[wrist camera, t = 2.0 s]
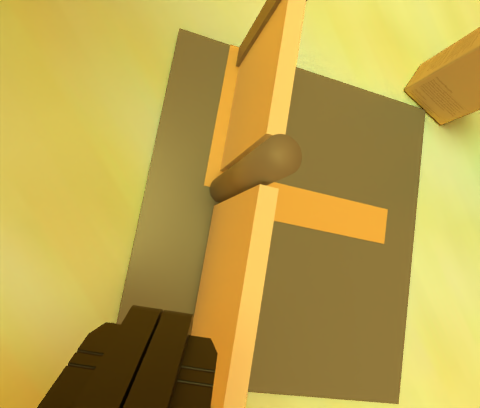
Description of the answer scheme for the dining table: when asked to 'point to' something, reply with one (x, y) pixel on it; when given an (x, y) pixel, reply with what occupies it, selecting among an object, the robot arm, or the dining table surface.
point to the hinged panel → (235, 288)
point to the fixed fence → (262, 103)
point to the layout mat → (292, 226)
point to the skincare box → (449, 81)
